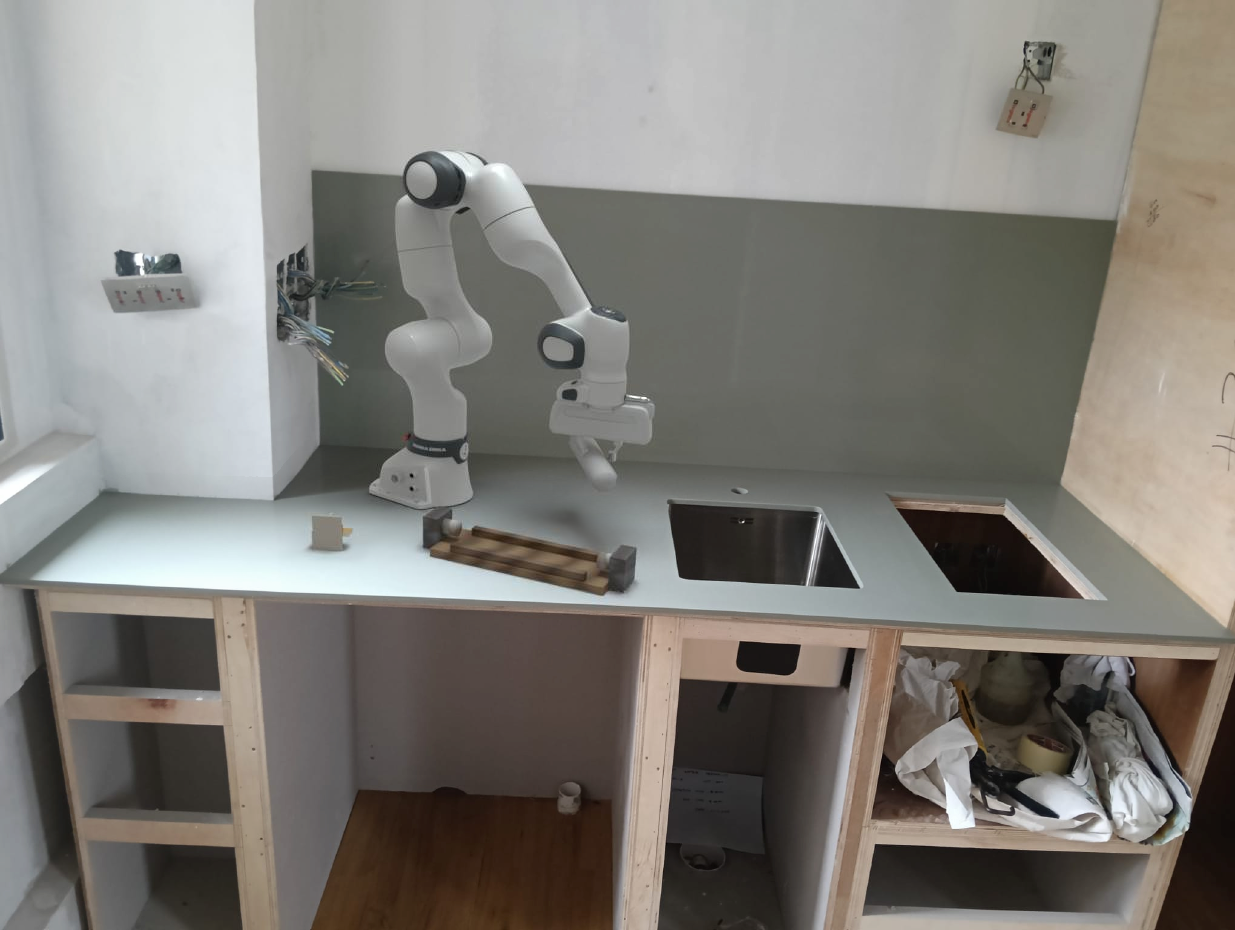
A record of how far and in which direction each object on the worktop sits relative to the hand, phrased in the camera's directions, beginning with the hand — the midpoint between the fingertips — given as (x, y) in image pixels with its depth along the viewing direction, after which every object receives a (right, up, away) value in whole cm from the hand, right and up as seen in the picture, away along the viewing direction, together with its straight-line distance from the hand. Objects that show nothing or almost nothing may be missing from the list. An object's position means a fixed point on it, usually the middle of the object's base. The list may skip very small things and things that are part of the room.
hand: (598, 458), depth 197 cm
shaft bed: (-13, -20, -10) cm, 26 cm away
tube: (-2, -3, +1) cm, 3 cm away
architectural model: (-51, -18, -9) cm, 55 cm away
